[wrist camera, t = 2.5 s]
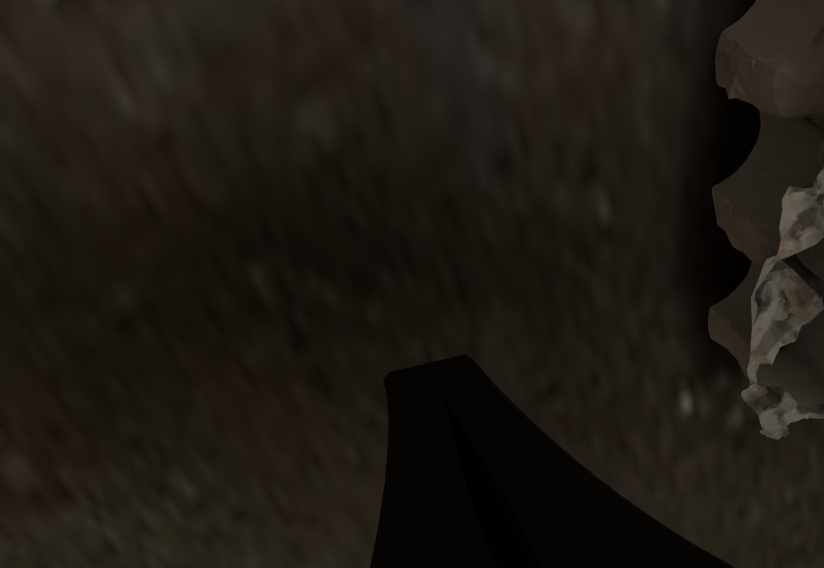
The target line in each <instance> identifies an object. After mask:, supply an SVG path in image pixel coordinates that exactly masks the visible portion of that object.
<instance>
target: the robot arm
mask: <svg viewBox="0 0 824 568" xmlns="http://www.w3.org/2000/svg"><path fill="white" fill-rule="evenodd" d="M383 381H384V386H385V391H386V397H387V402H388V415H389V432H388V452H387V465H386V477H385V486H384V493H383V499H382V506H381V512H380V519H379V525H378V531H377V536H376V541H375V546H374V551H373V556H372V561H371V565H370V568H735V567H733V566H731V565H729V564H728V563H726V562H724V561H722V560H721V559H719V558H717V557H715V556H714V555H712V554H710V553H708V552H707V551H705V550H703V549H701V548H700V547H698V546H696V545H694V544H693V543H691V542H690V541H688V540H686V539H685V538H683V537H682V536H680V535H679V534H677V533H676V532H674V531H672V530H671V529H669V528H668V527H666V526H665V525H663V524H662V523H660V522H659V521H657V520H655V519H654V518H652V517H651V516H650V515H648V514H647V513H645V512H644V511H642V510H641V509H640V508H638V507H637V506H635V505H634V504H632V503H631V502H629V501H628V500H627V499H625V498H624V497H623V496H621V495H620V494H618V493H617V492H616V491H614V490H613V489H612V488H610V487H609V486H608V485H606V484H605V483H604V482H603V481H601V480H600V479H599V478H597V477H596V476H595V475H594V474H592V473H591V472H590V471H589V470H587V469H586V468H585V467H584V466H583V465H581V464H580V463H579V462H578V461H576V460H575V459H574V458H573V457H572V456H570V455H569V454H568V453H567V452H566V451H565V450H563V449H562V448H561V447H560V446H559V445H558V444H556V443H555V442H554V441H553V440H552V439H551V438H550V437H549V436H548V435H547V434H545V433H544V432H543V431H542V430H541V429H540V428H539V427H538V426H537V425H536V424H534V423H533V422H532V421H531V420H530V419H529V418H528V417H527V416H526V415H525V414H524V413H523V412H522V411H521V410H520V409H519V408H518V407H517V406H516V405H515V404H514V403H513V402H512V401H511V400H510V399H509V398H508V397H507V396H506V395H505V394H504V393H503V392H502V391H501V390H500V389H499V388H498V387H497V386H496V385H495V384H494V383H493V382H492V380H491V379H490V378H489V377H488V376H487V375H486V374H485V373H484V371H483V370H482V369H481V368H480V367H479V366H478V365H477V363H476V362H475V361H474V360H473V359H472V358H471V357H469V356H467V355H466V354H465V355H461V356H457V357H452V358H448V359H444V360H440V361H435V362H431V363H427V364H423V365H418V366H414V367H410V368H406V369H401V370H397V371H393V372H389V373H388V375H387V376H386V377H385V378H384V379H383Z"/></svg>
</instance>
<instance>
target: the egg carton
mask: <svg viewBox="0 0 824 568" xmlns="http://www.w3.org/2000/svg"><path fill="white" fill-rule="evenodd" d="M715 63H716V82H717V84H718V85H719V86H720V87H723V88H726V91H727V95H728V98H729V99H732V98H737V99H740V100H743V101H745V102H748V103H750V104H752V105H754V106H755V107H756V108H758V110H759V112H760V121H761V127H760V132H759V136H758V140H757V142H756V144H755V146H754V148H753V150H752V151H751V153H750V154H749V156H748V158H747V159H746V161H745V162H744V163H743V164H742V165H741V167H740V168H739V169H738V170H737V171H736V172H735V173H734V174H732V175H731V176H729V177H728V178H727V179H725V180H724V181H722V182H721V183H718V184H716V185H714V186H713V187H712V197H713V203H714V207H715V212H716V216H717V225H718V226H719V227H721V228H722V229H723V230H724V231H725V232H726V234H727V236H728V238H729V241H730V243H731V244H732V246H733V247H734V248H736V249H737V250H739V251H741V252H743V253H744V254H745V255H746V256H747V257H748V258H749V259H750V260H751V261H752V263H751V266H750V269H749V271H748V274H747V277H746V278H745V279H744V280H743V281H742V283H741V284H740V285H739V286H738V287H737V288H736V289H735V290H734V291H733V292H732V293H731V294H730V295H729V296H728V297H726V298H725V299H723V300H722V301H720V302H718V303H716V304H714V305H712V306H711V307H710V310H709V316H708V330H709V335H710V338H711V339H712V340H714V341H715V342H717V343H719V344H720V345H722V346H723V347H725V348H727V350H728V351H729V352H730V353H731V354H732V355H733V356H734V357H735V358H736V359H737V360H738V362H739V365H740V367H741V370H742V371H743V373H744V375H745V377H746V378H748V379H749V380H750V386H749V388H748V389H746V390H744V391H742V394H741V396H742V398H743V400H744V402H746V403H747V404H748V405H749V406H750V407H751V408H752V409H753V410H754V411H755V412H756V413H757V415H758V416H759V420H760V424H761V427H762V430H761V431H760V433H761V434H762V435H764V436H767V437H770V438H773V439H776V440H778V439H781V438H785V437H786V436H787V435H789V429H788V427H787V426H788V425H789V424H790V423H791V422H795V421H800V420H804V419H808V418H815V419H824V303H823V302H822V297H821V295H820V294H818V293H817V292H815V291H814V290H812V289H811V288H810V287H809V286H808V285H807V284H806V283H805V282H804V281H803V280H802V279H801V278H800V276H799V275H798V274H797V273H796V272H795V271H794V270H793V269H792V268H791V267H789V266H788V265H787V264H786V263H785V262H783V261H782V259H784V258H787V257H789V256H791V255H794V254H796V256H797V258H798V259H799V261H800V262H801V263H802V265H803V266H804V267H806V268H807V269H808V270H810V271H811V272H813V273H814V274H815V275H817V276H818V277H819V278H820V279H821V280H823V281H824V0H756V1H755V3H754V5H753V6H752V7H751V8H750V9H749V10H748V11H747V12H746V13H745V15H744V16H743V17H742V18H741V19H740V20H739V21H737V22H736V23H734V24H733V25H731V26H729V27H728V28H726V29H725V30H723V32H722V33H721V36H720V38H719V40H718V45H717V48H716V58H715ZM784 345H785V346H784ZM781 346H784V348H783V349H782V350H780V351H779V349H780V347H781Z"/></svg>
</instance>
